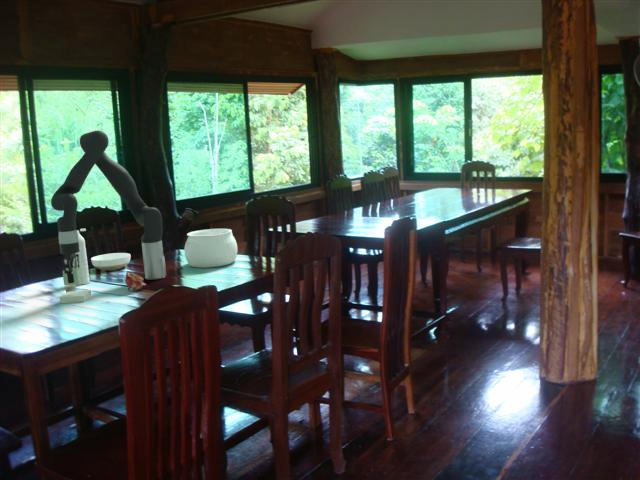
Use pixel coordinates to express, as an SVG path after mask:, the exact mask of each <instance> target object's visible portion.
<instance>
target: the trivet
mask: <svg viewBox="0 0 640 480" xmlns="http://www.w3.org/2000/svg"><path fill="white" fill-rule="evenodd" d="M92 295H93V294H92V290H91V289H85V290H84V289H83V290H76V291H69V292H66V291H65V293H63V294H62V295H61V296H59V304H67V303H69V304H70V303H71V304H72V303H84V302H86V301H88V299H90V298H91V297H92Z"/></svg>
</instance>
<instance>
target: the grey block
mask: <svg viewBox="0 0 640 480" xmlns="http://www.w3.org/2000/svg"><path fill="white" fill-rule="evenodd" d="M64 286H65V287H64V288H65V289H64V290H65V293H66V292H69V291H77V287H76V285H64Z"/></svg>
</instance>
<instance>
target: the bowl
mask: <svg viewBox="0 0 640 480" xmlns="http://www.w3.org/2000/svg"><path fill="white" fill-rule="evenodd" d="M131 257H132V256H131V254H130V253H127V252H116V253H115V252H113V253H105V254H100V255H95V256H93V257H91V258H90V261H91V264H92V266H94V267H95V268H96V269H99V270H100V271H104V270H108V271H114V270H116V269H117V270H121V269H123V268H124V267H125V266H127V265H128V264H129V263H130V261H131Z"/></svg>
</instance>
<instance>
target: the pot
mask: <svg viewBox="0 0 640 480" xmlns="http://www.w3.org/2000/svg"><path fill="white" fill-rule="evenodd" d="M186 236H188V237H187V239H186V241H185V245H184V257H185V261H186V262H187V264H188V265H190V267H193V268H198V269H199V268H200V269H204V268H205V269H207V268H209V269H211V268H218V267H224V266H228V265H230V264H233V263H234V262H235V261H236V259H237V256H238V244H237V241H236V238H235V236H234V235H233V230H232V229H230V228H209V229H208V228H207V229H200V230H195V231H194V230H193V231H190V232H188V233H187V234H186Z"/></svg>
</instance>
